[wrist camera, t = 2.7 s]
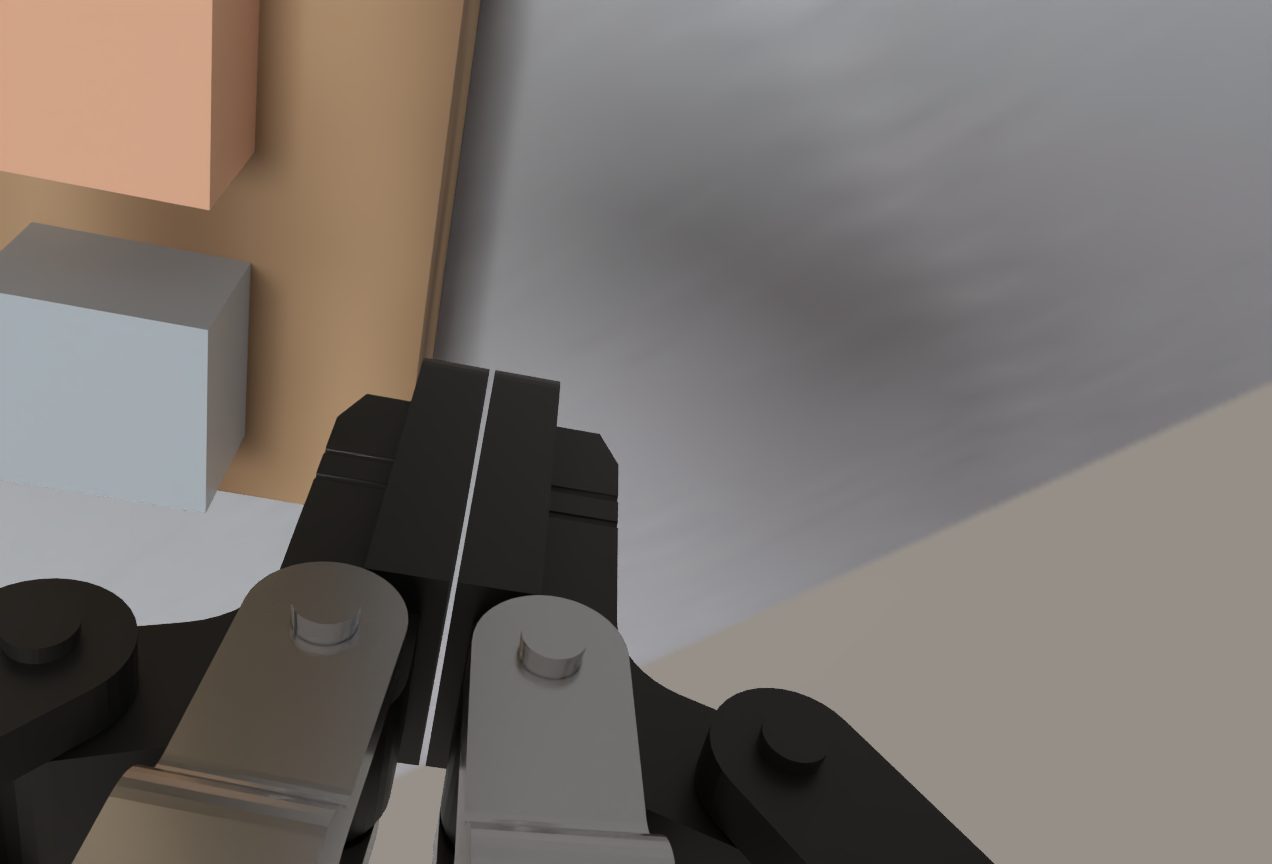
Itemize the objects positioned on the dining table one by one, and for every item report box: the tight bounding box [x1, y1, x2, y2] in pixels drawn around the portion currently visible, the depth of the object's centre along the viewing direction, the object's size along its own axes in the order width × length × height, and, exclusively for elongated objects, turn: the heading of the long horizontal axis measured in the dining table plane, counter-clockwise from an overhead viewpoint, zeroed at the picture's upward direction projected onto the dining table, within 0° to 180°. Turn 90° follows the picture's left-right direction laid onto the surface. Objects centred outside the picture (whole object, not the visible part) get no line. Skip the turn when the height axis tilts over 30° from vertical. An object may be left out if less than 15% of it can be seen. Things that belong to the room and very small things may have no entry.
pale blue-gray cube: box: [0, 222, 251, 513], centre depth 25 cm, size 4×4×3 cm
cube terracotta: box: [0, 0, 260, 210], centre depth 21 cm, size 4×4×3 cm
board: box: [0, 0, 481, 504], centre depth 26 cm, size 10×15×4 cm, turn 168°
